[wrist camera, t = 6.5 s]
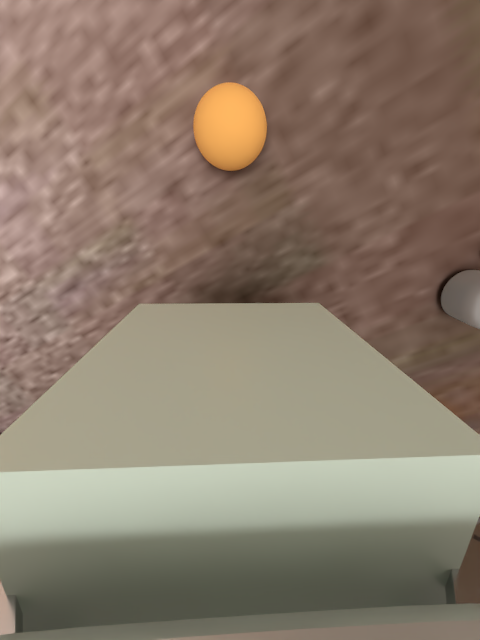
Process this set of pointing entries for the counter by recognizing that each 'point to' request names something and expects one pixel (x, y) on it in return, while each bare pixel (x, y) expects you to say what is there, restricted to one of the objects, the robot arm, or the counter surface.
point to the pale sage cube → (232, 475)
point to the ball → (230, 126)
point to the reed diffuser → (463, 297)
